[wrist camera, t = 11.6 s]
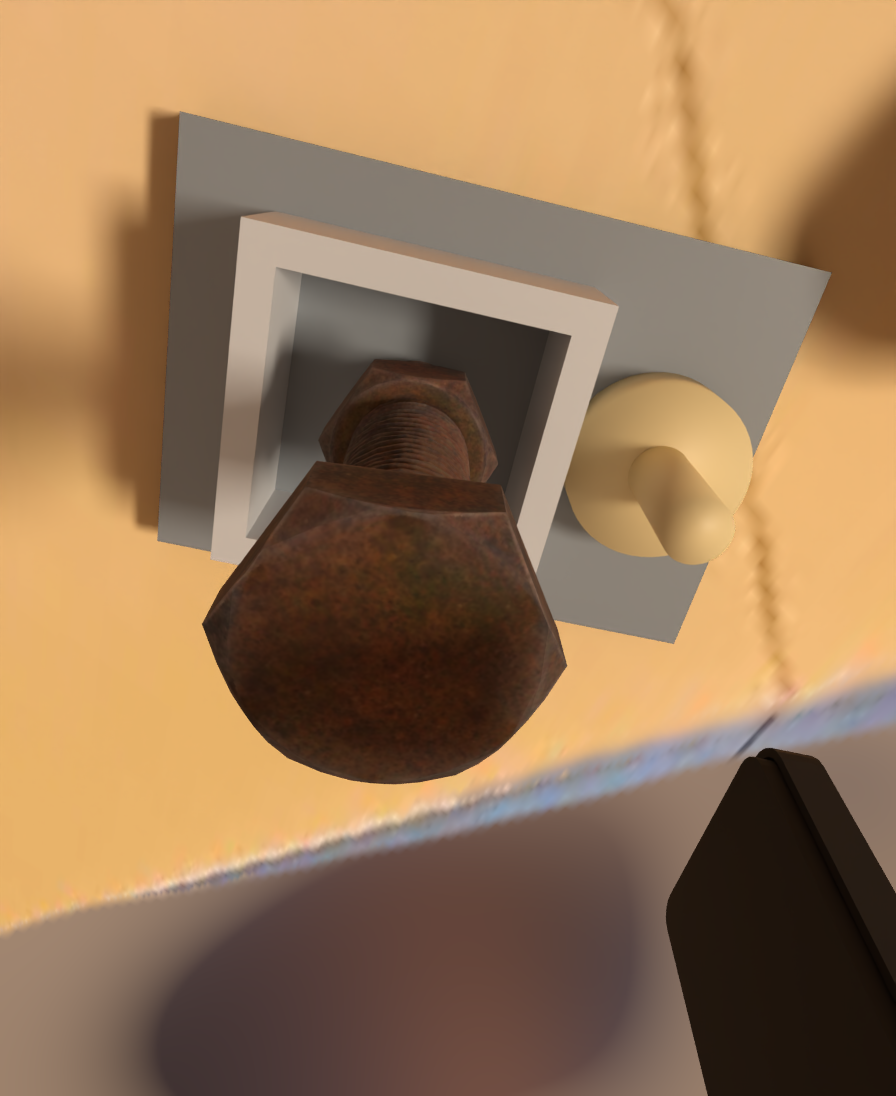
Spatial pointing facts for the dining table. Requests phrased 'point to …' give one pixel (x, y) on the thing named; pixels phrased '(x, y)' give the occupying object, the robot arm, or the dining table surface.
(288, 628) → the bolt
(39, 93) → the dining table surface
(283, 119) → the dining table surface
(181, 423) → the board
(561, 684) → the dining table surface
